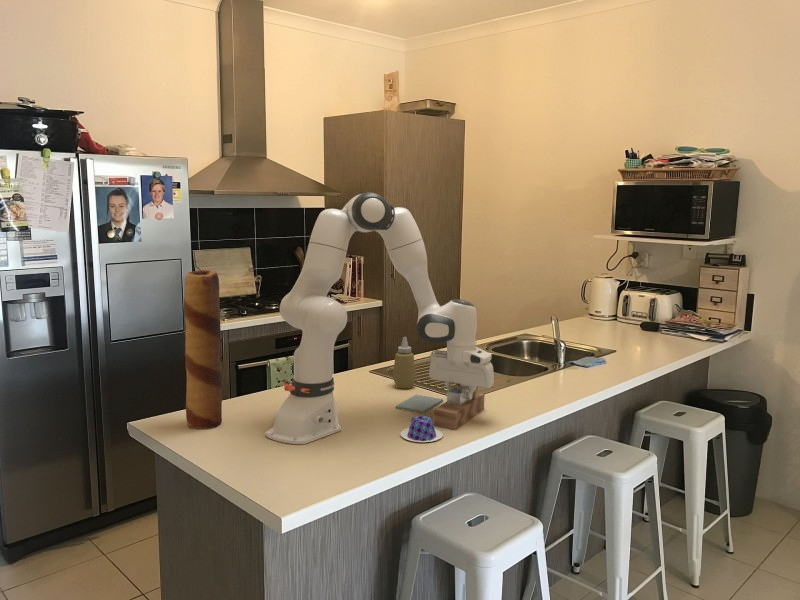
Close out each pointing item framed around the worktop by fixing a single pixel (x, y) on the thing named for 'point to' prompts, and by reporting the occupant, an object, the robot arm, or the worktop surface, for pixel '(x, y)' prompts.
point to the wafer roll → (203, 349)
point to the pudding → (421, 430)
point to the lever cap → (458, 395)
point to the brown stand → (458, 412)
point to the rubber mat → (419, 403)
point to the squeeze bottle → (404, 366)
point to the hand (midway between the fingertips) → (460, 397)
